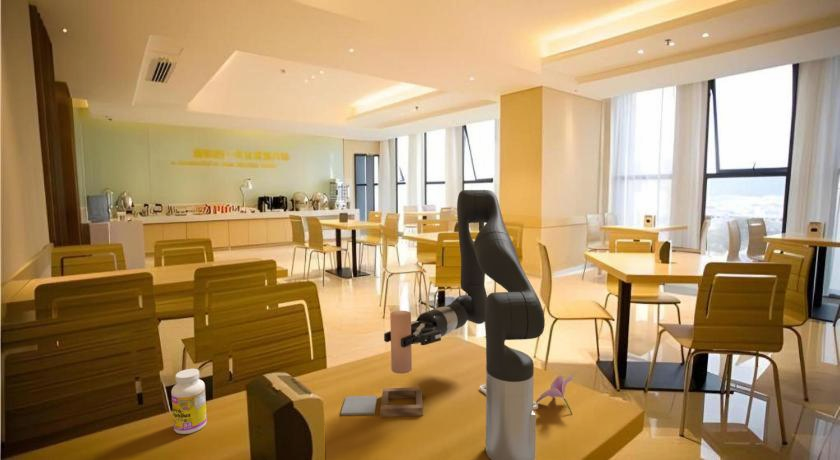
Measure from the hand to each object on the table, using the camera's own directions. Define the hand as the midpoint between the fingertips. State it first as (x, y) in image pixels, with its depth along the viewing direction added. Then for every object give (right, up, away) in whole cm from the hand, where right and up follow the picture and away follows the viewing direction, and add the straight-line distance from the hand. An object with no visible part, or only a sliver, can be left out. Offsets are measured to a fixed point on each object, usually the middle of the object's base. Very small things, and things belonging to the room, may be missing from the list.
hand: (393, 340), depth 100 cm
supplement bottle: (-46, -19, -5) cm, 50 cm away
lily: (+40, -17, +3) cm, 44 cm away
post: (+2, -8, +3) cm, 8 cm away
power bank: (+29, -17, +7) cm, 34 cm away
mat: (-9, -17, +4) cm, 20 cm away
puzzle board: (+2, -17, +4) cm, 18 cm away
